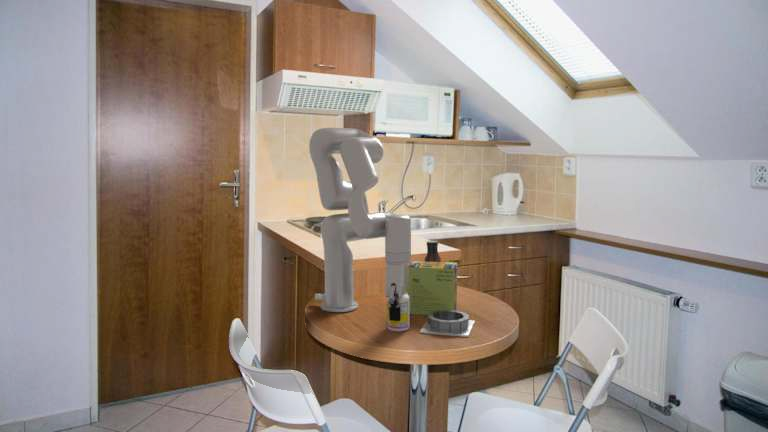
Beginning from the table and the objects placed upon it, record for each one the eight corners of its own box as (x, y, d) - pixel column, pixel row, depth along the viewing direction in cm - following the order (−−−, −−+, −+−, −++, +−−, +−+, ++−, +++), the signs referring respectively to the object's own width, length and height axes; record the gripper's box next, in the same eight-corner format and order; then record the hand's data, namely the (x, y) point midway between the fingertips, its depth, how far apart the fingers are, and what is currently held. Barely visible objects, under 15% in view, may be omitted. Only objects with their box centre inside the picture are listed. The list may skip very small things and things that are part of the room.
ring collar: (419, 332, 158) (419, 320, 158) (430, 318, 171) (430, 307, 171) (468, 337, 154) (468, 324, 153) (474, 322, 167) (475, 311, 167)
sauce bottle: (440, 292, 204) (441, 239, 201) (443, 296, 197) (443, 242, 195) (423, 292, 203) (423, 240, 201) (425, 297, 197) (425, 242, 195)
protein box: (455, 316, 173) (455, 268, 172) (407, 314, 177) (407, 267, 175) (457, 307, 184) (457, 262, 182) (412, 305, 187) (412, 260, 185)
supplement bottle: (391, 324, 166) (391, 282, 165) (412, 326, 164) (412, 284, 162) (383, 330, 160) (383, 287, 159) (405, 333, 158) (405, 289, 156)
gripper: (393, 251, 169) (394, 307, 171) (376, 262, 152) (377, 324, 154) (417, 252, 167) (417, 309, 169) (402, 263, 150) (403, 326, 152)
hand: (398, 316), depth 161 cm, fingers closed on supplement bottle, 6 cm apart
